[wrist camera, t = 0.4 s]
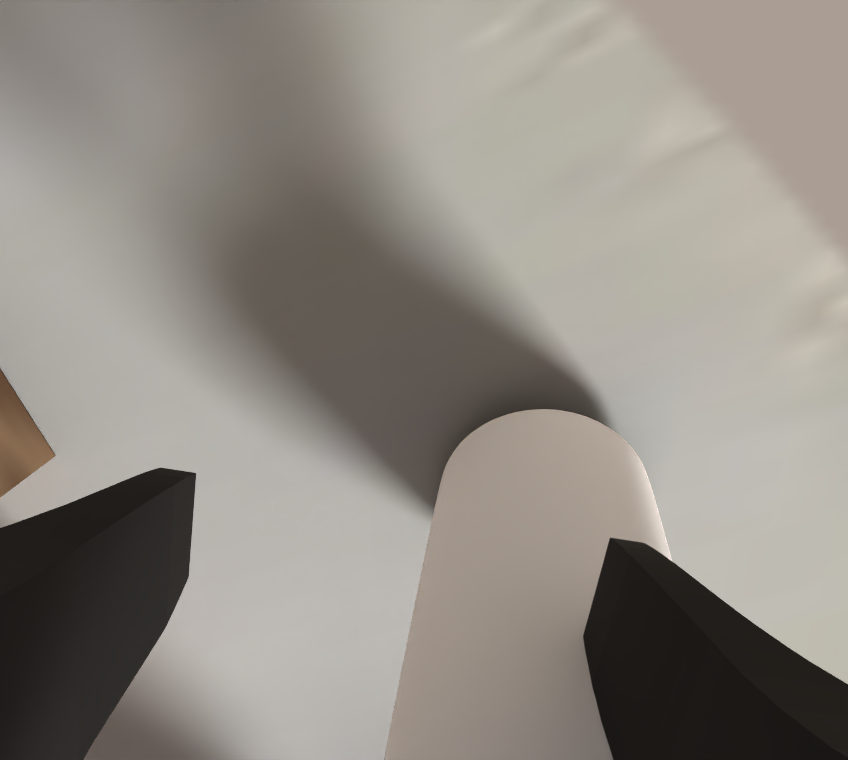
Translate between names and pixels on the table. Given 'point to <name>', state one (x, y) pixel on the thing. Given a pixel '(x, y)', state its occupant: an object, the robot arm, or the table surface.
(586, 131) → the table surface
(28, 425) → the socket block
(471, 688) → the can
